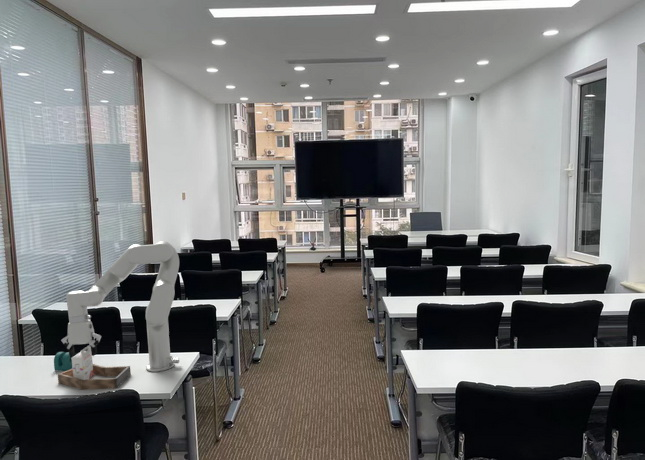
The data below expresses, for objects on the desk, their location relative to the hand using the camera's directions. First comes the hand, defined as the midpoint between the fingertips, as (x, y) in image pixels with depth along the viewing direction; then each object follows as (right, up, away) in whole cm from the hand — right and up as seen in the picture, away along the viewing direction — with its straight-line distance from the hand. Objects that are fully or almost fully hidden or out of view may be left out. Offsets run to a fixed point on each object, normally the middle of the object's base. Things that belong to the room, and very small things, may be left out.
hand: (83, 355), depth 205 cm
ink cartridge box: (0, -11, +1) cm, 11 cm away
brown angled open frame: (+5, -11, 0) cm, 12 cm away
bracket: (-16, -10, +21) cm, 28 cm away
